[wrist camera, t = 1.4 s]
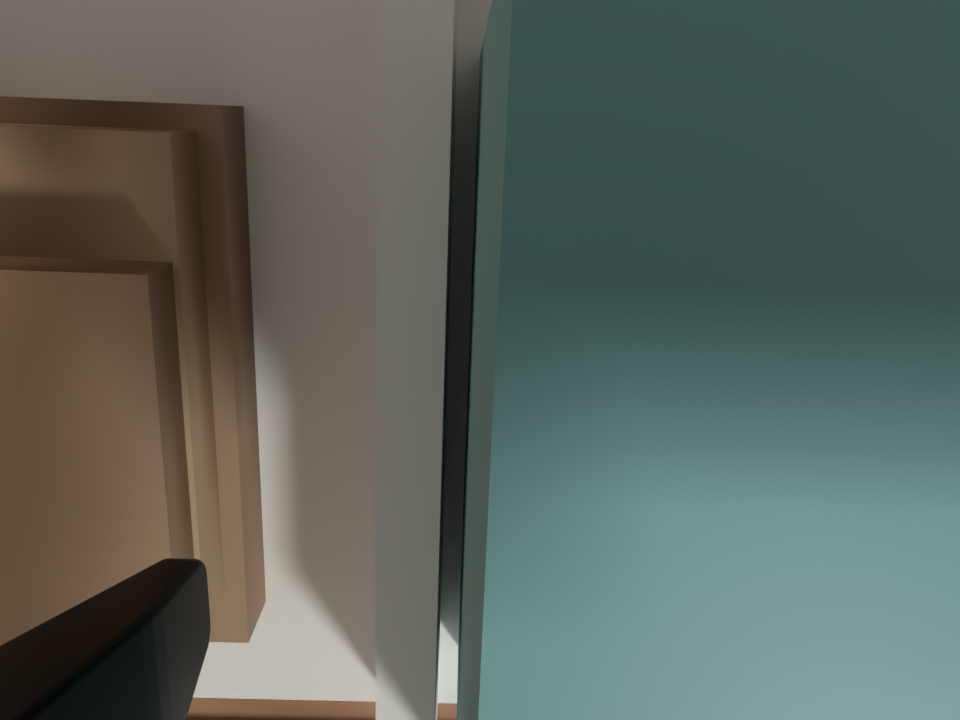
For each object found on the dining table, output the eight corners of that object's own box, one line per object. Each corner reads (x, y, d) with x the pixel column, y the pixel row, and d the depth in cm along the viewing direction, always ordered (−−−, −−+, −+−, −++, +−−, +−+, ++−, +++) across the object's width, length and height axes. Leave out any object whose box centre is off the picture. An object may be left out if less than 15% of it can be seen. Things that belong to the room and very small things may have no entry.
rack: (726, -20, 15) (834, -74, 10) (643, 677, 19) (694, 844, 15) (-63, -56, 14) (-295, -128, 10) (41, 663, 19) (-88, 829, 14)
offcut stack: (243, 106, 14) (171, 104, 11) (265, 600, 17) (214, 725, 14) (-24, 94, 14) (-184, 90, 11) (45, 595, 17) (-62, 718, 13)
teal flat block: (653, 62, 14) (1213, -81, 3) (595, 649, 18) (787, 1458, 7) (480, 55, 14) (518, -116, 3) (457, 646, 17) (442, 1459, 7)
